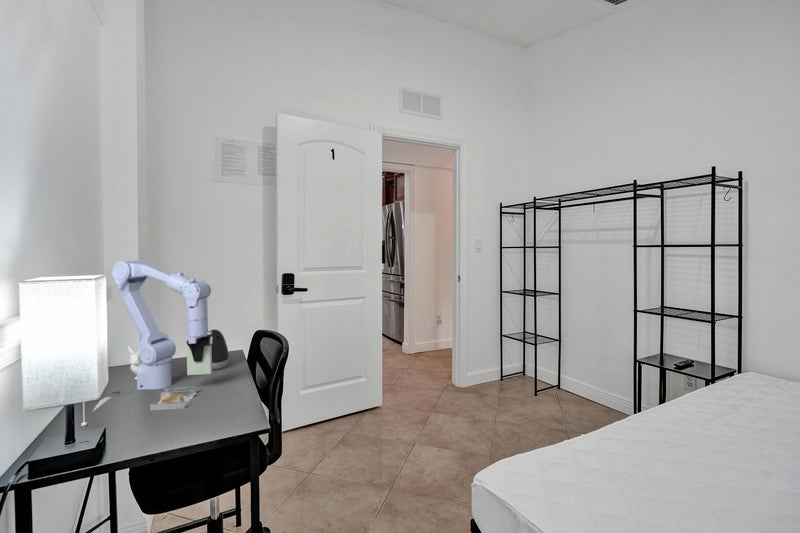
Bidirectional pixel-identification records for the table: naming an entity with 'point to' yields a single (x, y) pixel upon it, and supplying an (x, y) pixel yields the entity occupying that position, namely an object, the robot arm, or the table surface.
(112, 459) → the table surface
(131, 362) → the rabbit
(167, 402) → the offcut lower
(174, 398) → the offcut upper
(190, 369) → the pale green rectangular block
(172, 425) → the table surface
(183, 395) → the rack
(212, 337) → the black egg shaped speaker
